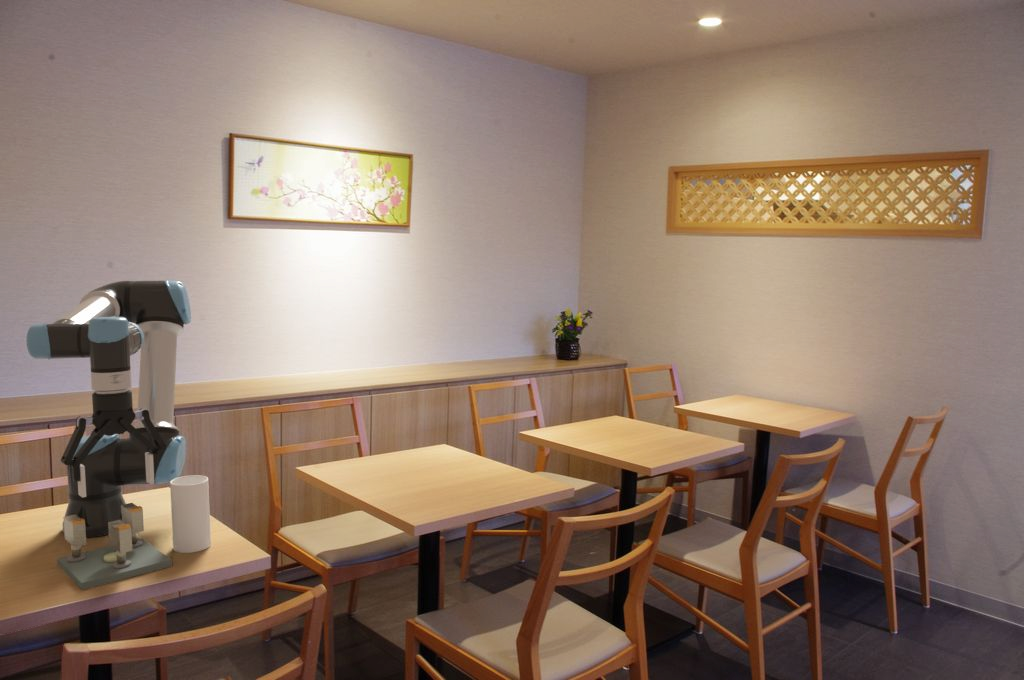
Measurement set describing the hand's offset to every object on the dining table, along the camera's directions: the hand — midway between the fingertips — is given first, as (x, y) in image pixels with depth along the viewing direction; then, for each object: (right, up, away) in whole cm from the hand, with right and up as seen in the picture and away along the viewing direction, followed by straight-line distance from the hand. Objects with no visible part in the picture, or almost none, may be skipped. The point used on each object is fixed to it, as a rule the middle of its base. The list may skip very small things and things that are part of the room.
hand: (117, 489), depth 169 cm
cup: (+9, -17, +17) cm, 26 cm away
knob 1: (0, -17, +2) cm, 17 cm away
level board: (-4, -18, +6) cm, 19 cm away
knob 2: (-3, -16, +14) cm, 21 cm away
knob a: (-12, -16, +6) cm, 21 cm away
